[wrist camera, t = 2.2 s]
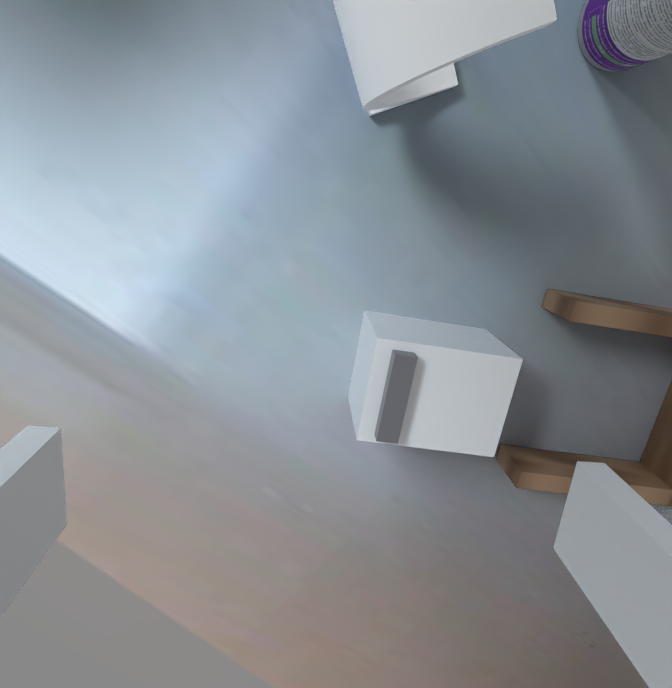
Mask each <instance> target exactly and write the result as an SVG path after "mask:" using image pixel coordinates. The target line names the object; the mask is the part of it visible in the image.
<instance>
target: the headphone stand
mask: <svg viewBox="0 0 672 688" xmlns="http://www.w3.org/2000/svg"><path fill="white" fill-rule="evenodd" d="M333 3H334V7H335V11H336V14H337V18H338V21H339V25H340V29H341V32H342V36H343V39H344V43H345V47H346V50H347V54H348V57H349V61H350V65H351V68H352V72H353V75H354V79H355V83H356V86H357V90H358V93H359V97H360V100H361V104H362V108H363V110H368V114H369V116H372V115H375V114H377V113H380V112H383V111H386V110H389V109H392V108H395V107H398V106H401V105H404V104H406V103H409V102H412V101H415V100H418V99H421V98H424V97H427V96H430V95H433V94H435V93H438V92H441V91H444V90H447V89H450V88H453V87H455V86H456V85H458V81H457V76H456V71H455V67H454V63H455V62H457V61H460V60H462V59H464V58H467V57H469V56H472V55H474V54H476V53H479V52H481V51H484V50H486V49H489V48H491V47H494V46H497V45H499V44H502V43H504V42H507V41H510V40H512V39H515V38H518V37H520V36H523V35H526V34H528V33H531V32H534V31H537V30H540V29H543V28H545V27H547V26H548V25H550V24H552V23H553V22H555V21H556V20H557V16H556V10H555V4H554V0H333Z"/></svg>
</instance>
